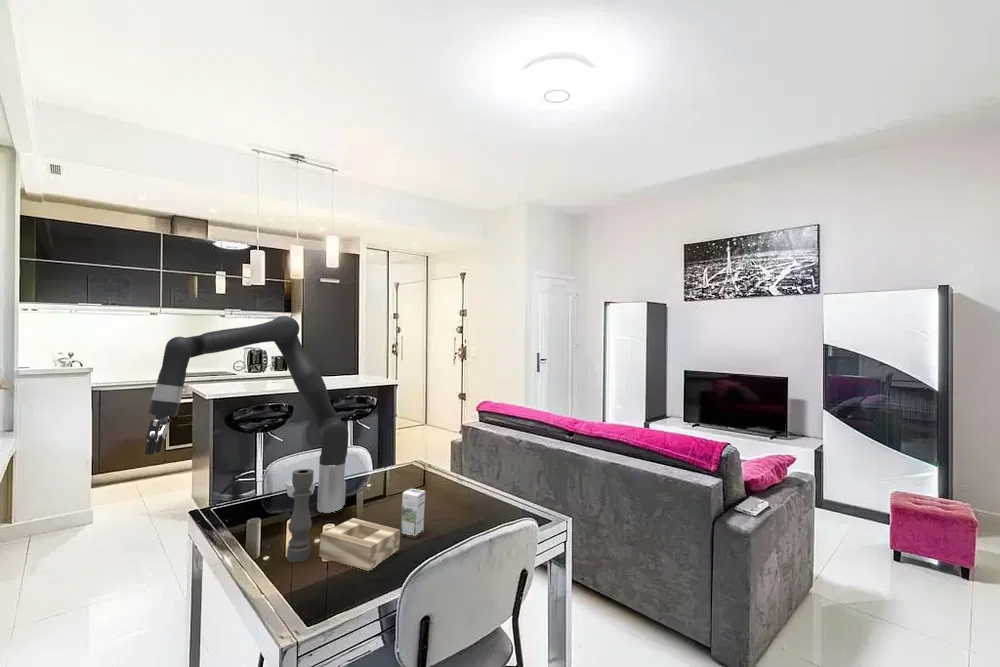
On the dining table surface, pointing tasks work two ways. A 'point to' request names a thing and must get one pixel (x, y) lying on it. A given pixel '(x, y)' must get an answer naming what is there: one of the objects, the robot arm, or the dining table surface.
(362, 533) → the socket block
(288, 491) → the ramekin
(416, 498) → the syrup box
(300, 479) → the candle holder
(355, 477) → the dining table surface
